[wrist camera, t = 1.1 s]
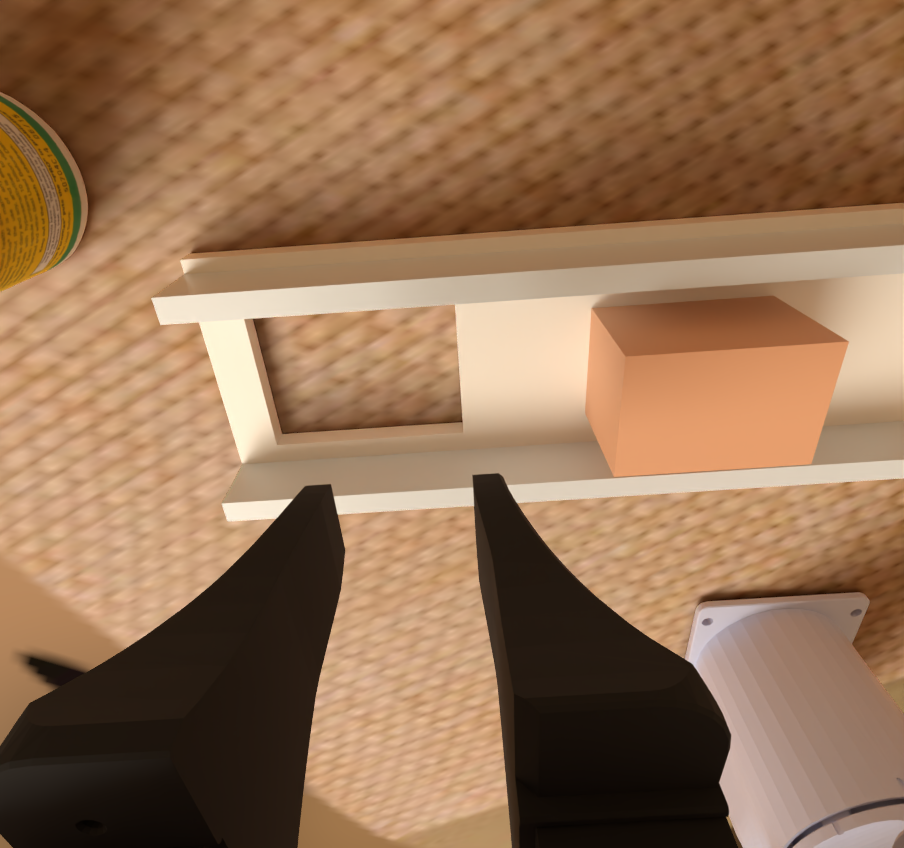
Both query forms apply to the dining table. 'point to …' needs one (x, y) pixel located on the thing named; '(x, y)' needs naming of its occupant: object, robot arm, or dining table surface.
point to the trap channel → (547, 349)
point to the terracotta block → (709, 385)
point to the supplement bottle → (36, 196)
